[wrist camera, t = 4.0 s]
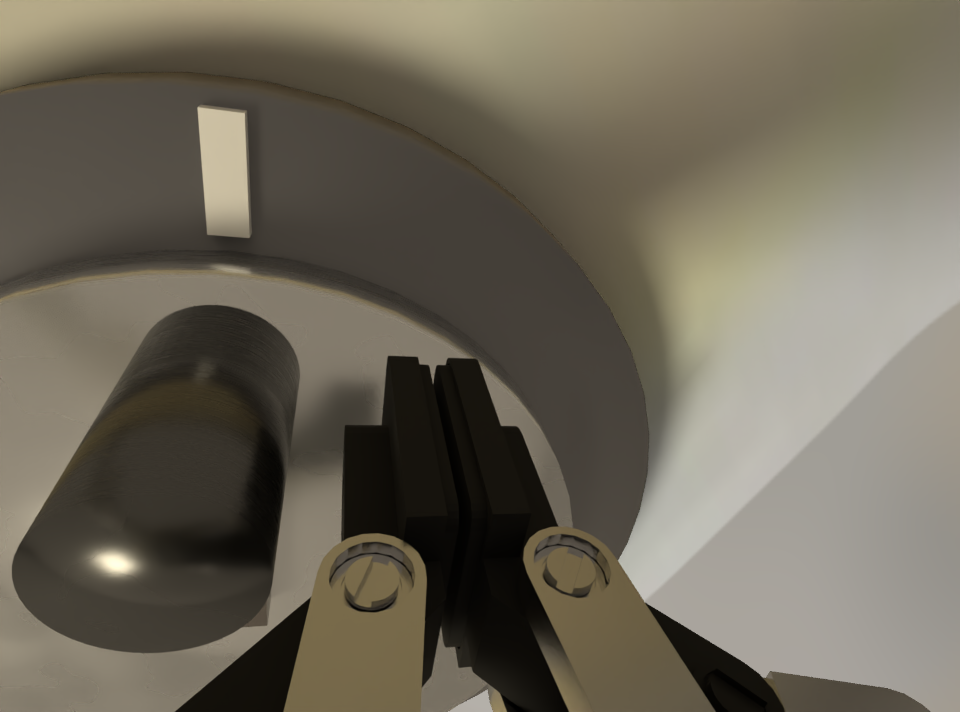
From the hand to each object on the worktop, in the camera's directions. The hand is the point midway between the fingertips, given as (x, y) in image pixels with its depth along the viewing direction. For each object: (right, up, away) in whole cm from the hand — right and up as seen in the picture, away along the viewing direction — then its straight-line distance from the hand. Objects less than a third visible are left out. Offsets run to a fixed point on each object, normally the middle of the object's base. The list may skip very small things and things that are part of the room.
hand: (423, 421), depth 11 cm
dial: (-5, -4, +5) cm, 9 cm away
